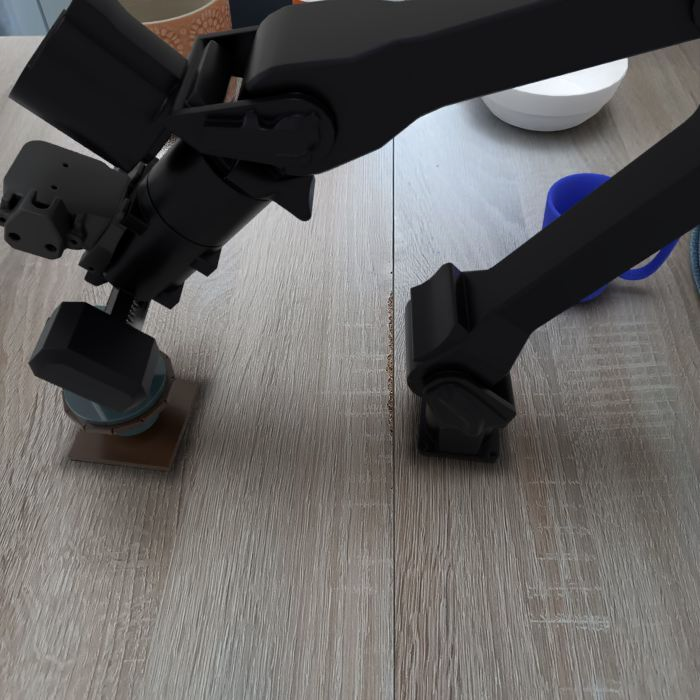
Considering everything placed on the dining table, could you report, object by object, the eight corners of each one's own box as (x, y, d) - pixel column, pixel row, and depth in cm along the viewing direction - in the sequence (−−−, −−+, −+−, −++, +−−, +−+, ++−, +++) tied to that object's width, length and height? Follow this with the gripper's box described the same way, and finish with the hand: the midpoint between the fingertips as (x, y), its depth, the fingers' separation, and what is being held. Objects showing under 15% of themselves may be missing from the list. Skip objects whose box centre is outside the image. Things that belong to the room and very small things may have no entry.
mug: (656, 323, 61) (698, 242, 53) (525, 306, 63) (546, 226, 55) (649, 263, 66) (687, 181, 58) (527, 249, 68) (548, 167, 60)
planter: (224, 154, 80) (197, 28, 68) (93, 143, 82) (46, 20, 70) (260, 82, 90) (243, -38, 78) (144, 74, 92) (110, -44, 81)
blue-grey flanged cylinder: (192, 382, 56) (162, 297, 48) (157, 460, 52) (116, 382, 43) (109, 368, 58) (65, 283, 49) (67, 443, 53) (11, 364, 45)
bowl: (617, 157, 77) (637, 100, 72) (461, 146, 79) (468, 90, 74) (604, 77, 89) (620, 23, 83) (468, 70, 91) (475, 16, 85)
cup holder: (170, 471, 53) (152, 436, 48) (69, 459, 54) (43, 423, 49) (200, 385, 58) (187, 346, 54) (108, 375, 59) (88, 336, 55)
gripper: (107, 26, 39) (6, 180, 48) (-15, 237, 27) (-117, 387, 36) (256, 142, 45) (141, 259, 54) (209, 356, 33) (72, 460, 42)
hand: (71, 328), depth 46 cm, fingers open, 9 cm apart
